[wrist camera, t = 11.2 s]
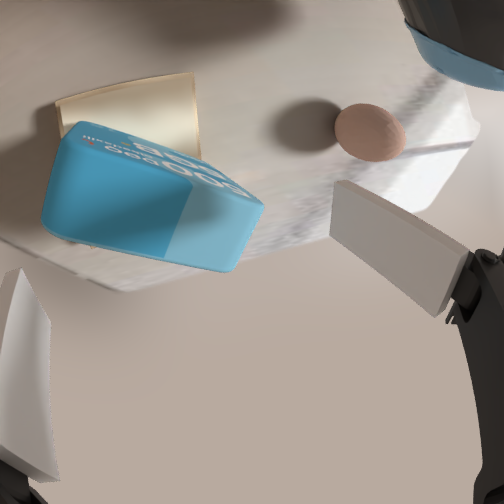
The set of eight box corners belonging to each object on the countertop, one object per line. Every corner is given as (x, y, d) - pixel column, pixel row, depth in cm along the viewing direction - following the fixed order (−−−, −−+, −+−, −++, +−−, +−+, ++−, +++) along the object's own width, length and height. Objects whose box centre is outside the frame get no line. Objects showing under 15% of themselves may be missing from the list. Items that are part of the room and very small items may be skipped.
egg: (330, 159, 36) (388, 184, 29) (313, 113, 32) (377, 128, 24) (364, 135, 37) (421, 155, 29) (351, 91, 32) (414, 103, 25)
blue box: (206, 161, 26) (276, 211, 17) (186, 206, 27) (242, 278, 18) (79, 118, 19) (57, 139, 10) (62, 171, 20) (34, 234, 11)
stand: (58, 101, 19) (53, 101, 17) (186, 73, 24) (196, 71, 21) (91, 238, 27) (91, 253, 25) (200, 206, 31) (210, 217, 29)
